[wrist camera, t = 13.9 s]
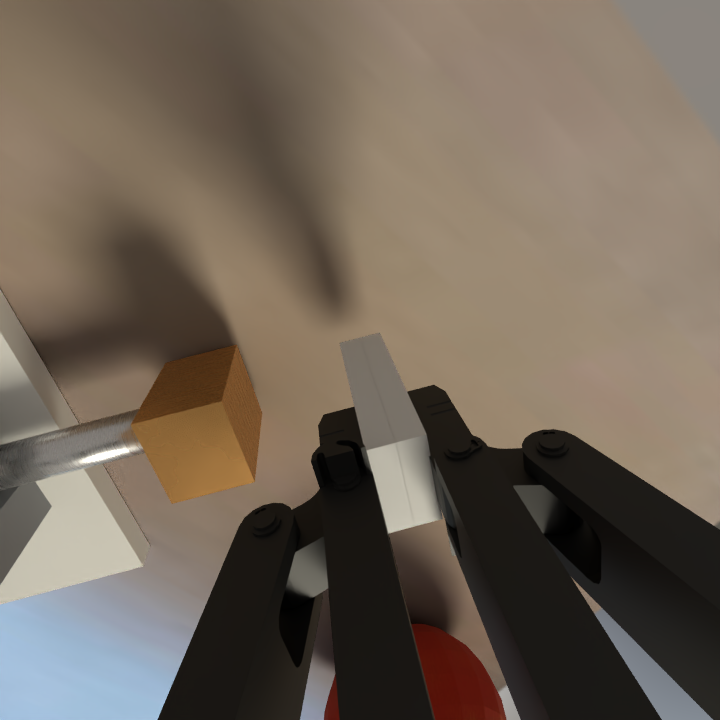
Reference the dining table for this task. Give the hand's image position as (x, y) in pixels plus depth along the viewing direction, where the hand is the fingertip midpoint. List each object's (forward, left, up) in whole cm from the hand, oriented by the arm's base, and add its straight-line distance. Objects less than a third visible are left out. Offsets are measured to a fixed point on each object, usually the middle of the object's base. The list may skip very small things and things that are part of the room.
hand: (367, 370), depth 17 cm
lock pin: (-10, 0, -2) cm, 10 cm away
